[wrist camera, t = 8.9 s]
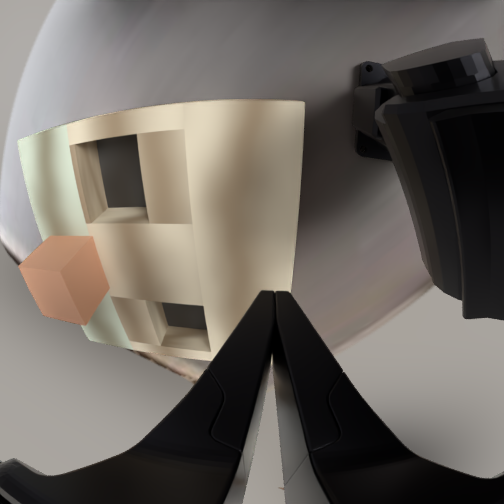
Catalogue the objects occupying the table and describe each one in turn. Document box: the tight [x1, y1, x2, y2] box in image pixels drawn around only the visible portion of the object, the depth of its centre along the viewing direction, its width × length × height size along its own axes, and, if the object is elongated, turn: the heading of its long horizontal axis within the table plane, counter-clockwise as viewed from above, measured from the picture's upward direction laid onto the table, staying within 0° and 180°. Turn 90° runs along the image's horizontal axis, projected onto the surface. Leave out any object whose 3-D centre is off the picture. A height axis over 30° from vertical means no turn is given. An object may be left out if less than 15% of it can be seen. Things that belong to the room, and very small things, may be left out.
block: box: [18, 236, 110, 326], centre depth 18 cm, size 5×5×4 cm
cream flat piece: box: [17, 99, 305, 365], centre depth 21 cm, size 21×22×3 cm
